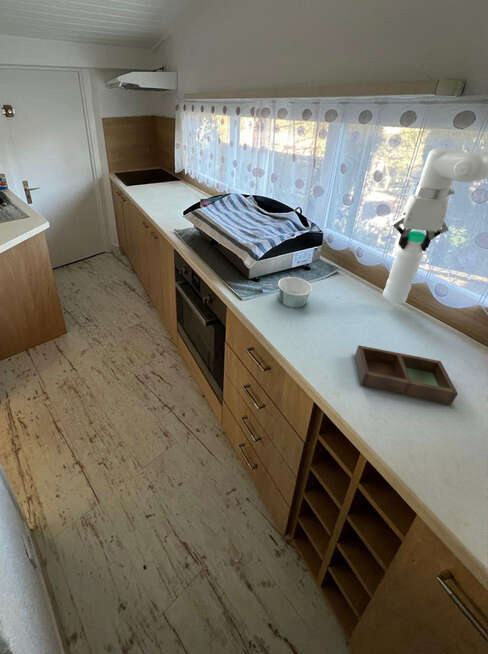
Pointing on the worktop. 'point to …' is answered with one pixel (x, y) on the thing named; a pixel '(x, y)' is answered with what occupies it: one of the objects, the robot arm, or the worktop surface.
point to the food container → (294, 291)
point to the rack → (404, 375)
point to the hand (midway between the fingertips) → (412, 247)
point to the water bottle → (404, 269)
